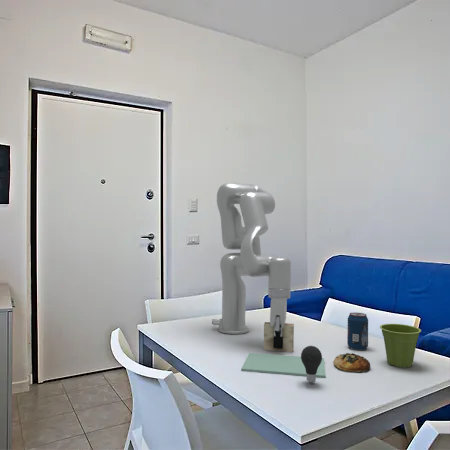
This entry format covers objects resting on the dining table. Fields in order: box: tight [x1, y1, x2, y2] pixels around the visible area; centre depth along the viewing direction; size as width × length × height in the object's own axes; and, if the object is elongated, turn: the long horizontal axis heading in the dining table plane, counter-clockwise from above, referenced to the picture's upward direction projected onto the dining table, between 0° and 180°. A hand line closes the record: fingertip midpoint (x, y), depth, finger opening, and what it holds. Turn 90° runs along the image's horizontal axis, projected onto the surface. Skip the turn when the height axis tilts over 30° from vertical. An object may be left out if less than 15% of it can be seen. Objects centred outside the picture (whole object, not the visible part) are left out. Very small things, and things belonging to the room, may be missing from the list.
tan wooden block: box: [263, 321, 295, 353], centre depth 142 cm, size 10×2×9 cm, turn 78°
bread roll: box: [332, 352, 371, 373], centre depth 125 cm, size 11×11×5 cm
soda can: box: [347, 312, 369, 351], centre depth 145 cm, size 7×7×12 cm
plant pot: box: [379, 323, 422, 368], centre depth 128 cm, size 12×12×11 cm
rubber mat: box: [240, 352, 327, 379], centre depth 125 cm, size 24×16×1 cm, turn 78°
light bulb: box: [300, 345, 323, 385], centre depth 111 cm, size 6×6×10 cm
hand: (278, 345), depth 142 cm, fingers open, 4 cm apart
